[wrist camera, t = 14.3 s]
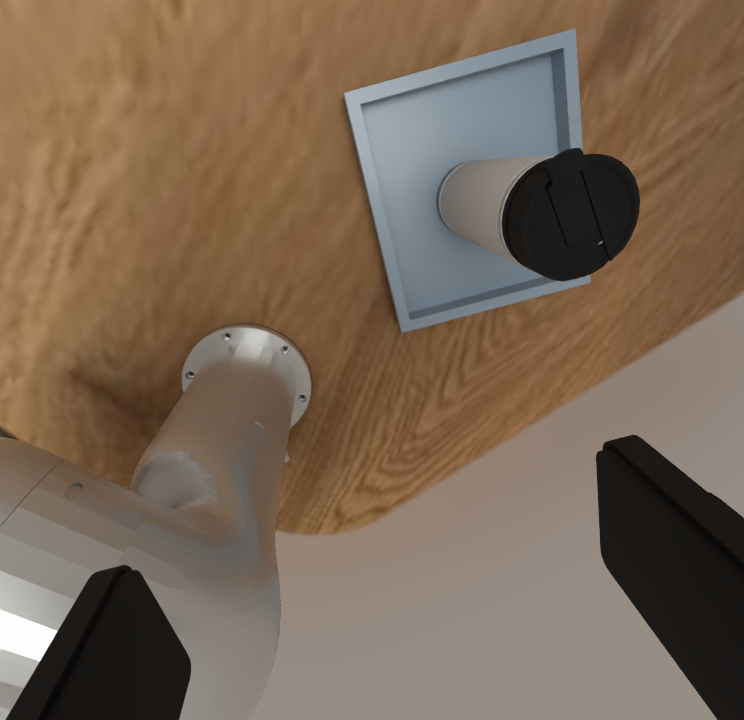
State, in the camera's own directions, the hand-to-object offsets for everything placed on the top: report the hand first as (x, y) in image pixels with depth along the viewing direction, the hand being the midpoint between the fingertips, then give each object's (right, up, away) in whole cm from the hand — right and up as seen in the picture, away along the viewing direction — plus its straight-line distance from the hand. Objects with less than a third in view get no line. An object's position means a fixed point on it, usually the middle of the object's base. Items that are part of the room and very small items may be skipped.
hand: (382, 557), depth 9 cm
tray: (+9, +19, +32) cm, 38 cm away
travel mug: (+8, +18, +31) cm, 37 cm away
